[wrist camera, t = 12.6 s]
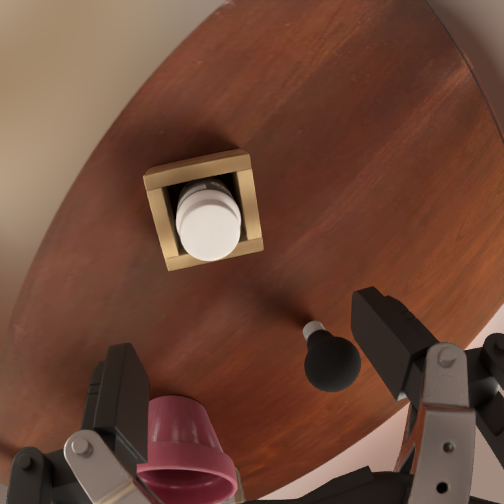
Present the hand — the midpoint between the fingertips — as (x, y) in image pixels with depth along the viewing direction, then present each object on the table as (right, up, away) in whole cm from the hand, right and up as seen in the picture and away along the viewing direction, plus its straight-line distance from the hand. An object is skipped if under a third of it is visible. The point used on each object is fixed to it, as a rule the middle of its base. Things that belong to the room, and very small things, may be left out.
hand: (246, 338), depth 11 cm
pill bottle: (-4, +8, +17) cm, 20 cm away
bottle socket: (-4, +8, +17) cm, 19 cm away
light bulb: (+7, -6, +26) cm, 27 cm away
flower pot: (-11, -20, +29) cm, 36 cm away
